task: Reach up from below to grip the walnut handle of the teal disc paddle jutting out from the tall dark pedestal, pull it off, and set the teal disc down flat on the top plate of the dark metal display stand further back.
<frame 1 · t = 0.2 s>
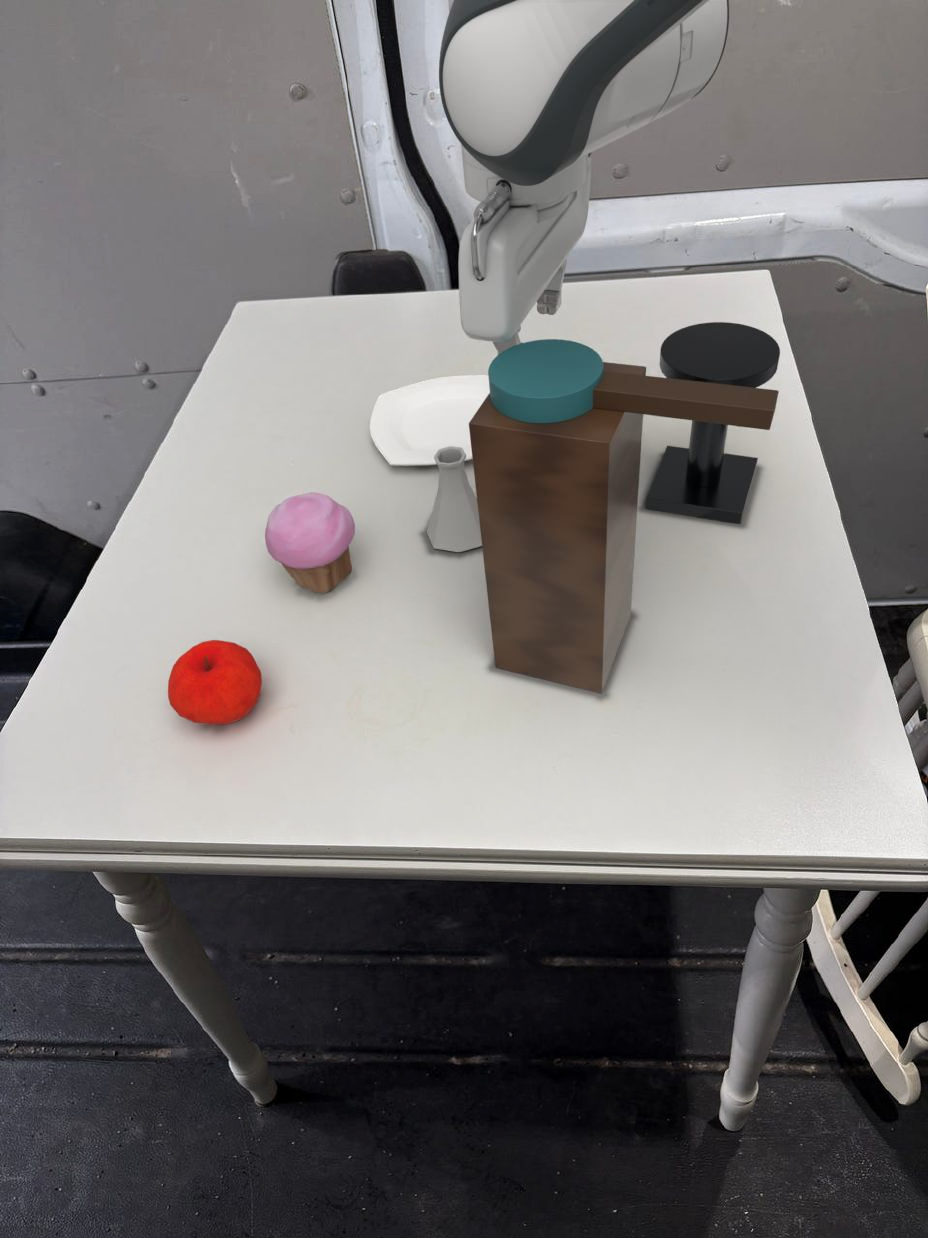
hand: (531, 337, 70), 24 cm above the table, tool pointing down, fingers open, 8 cm apart
apple: (229, 711, 76), on the table
cupcake: (323, 581, 87), on the table
pedestal: (564, 641, 78), on the table
plate: (448, 431, 105), on the table
flask: (460, 533, 90), on the table
disc paddle: (546, 392, 60), point 26 cm above the table, touching pedestal
display stand: (701, 488, 91), on the table
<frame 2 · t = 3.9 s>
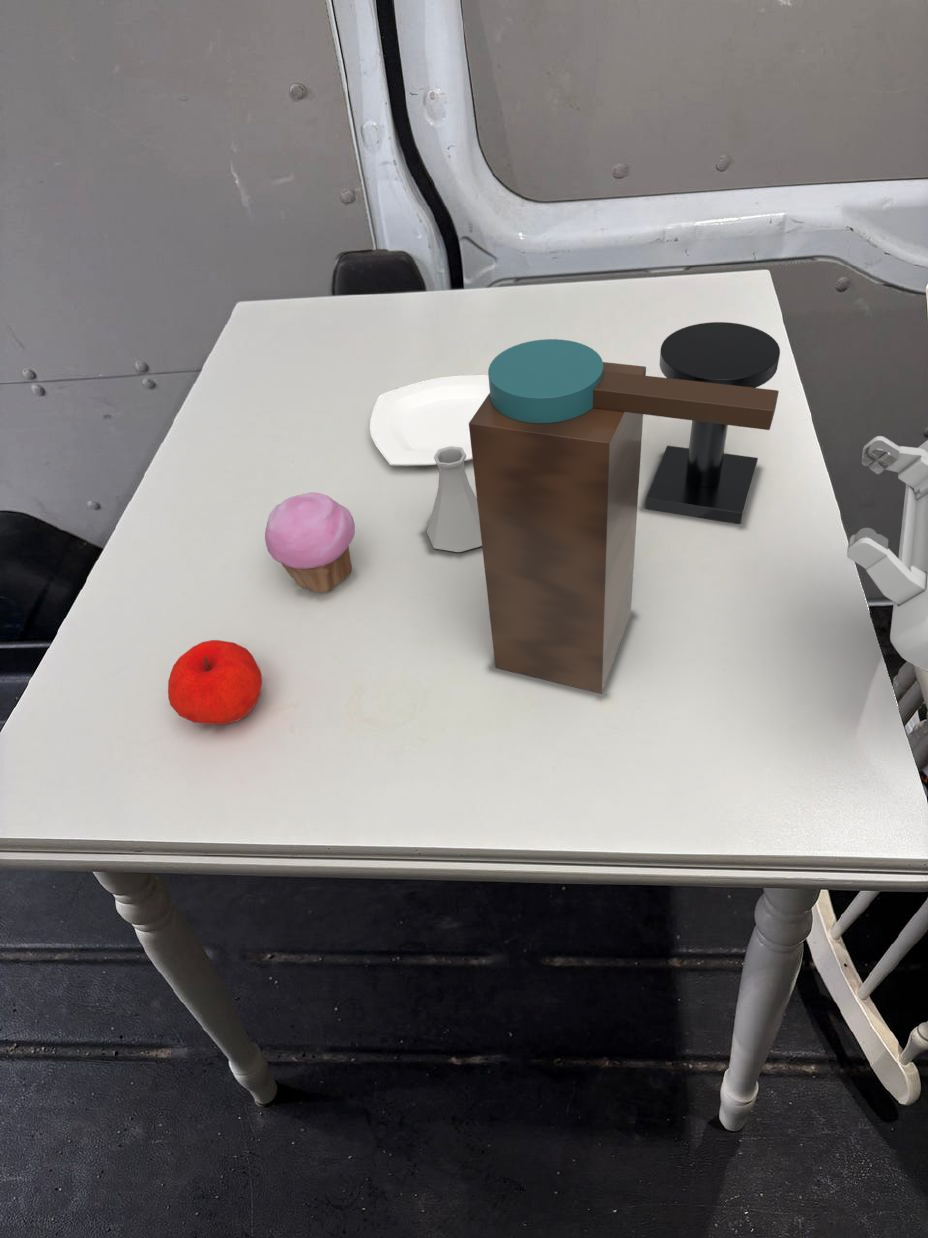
hand: (861, 491, 56), 21 cm above the table, tool pointing upward, fingers open, 8 cm apart
nothing on the table moved.
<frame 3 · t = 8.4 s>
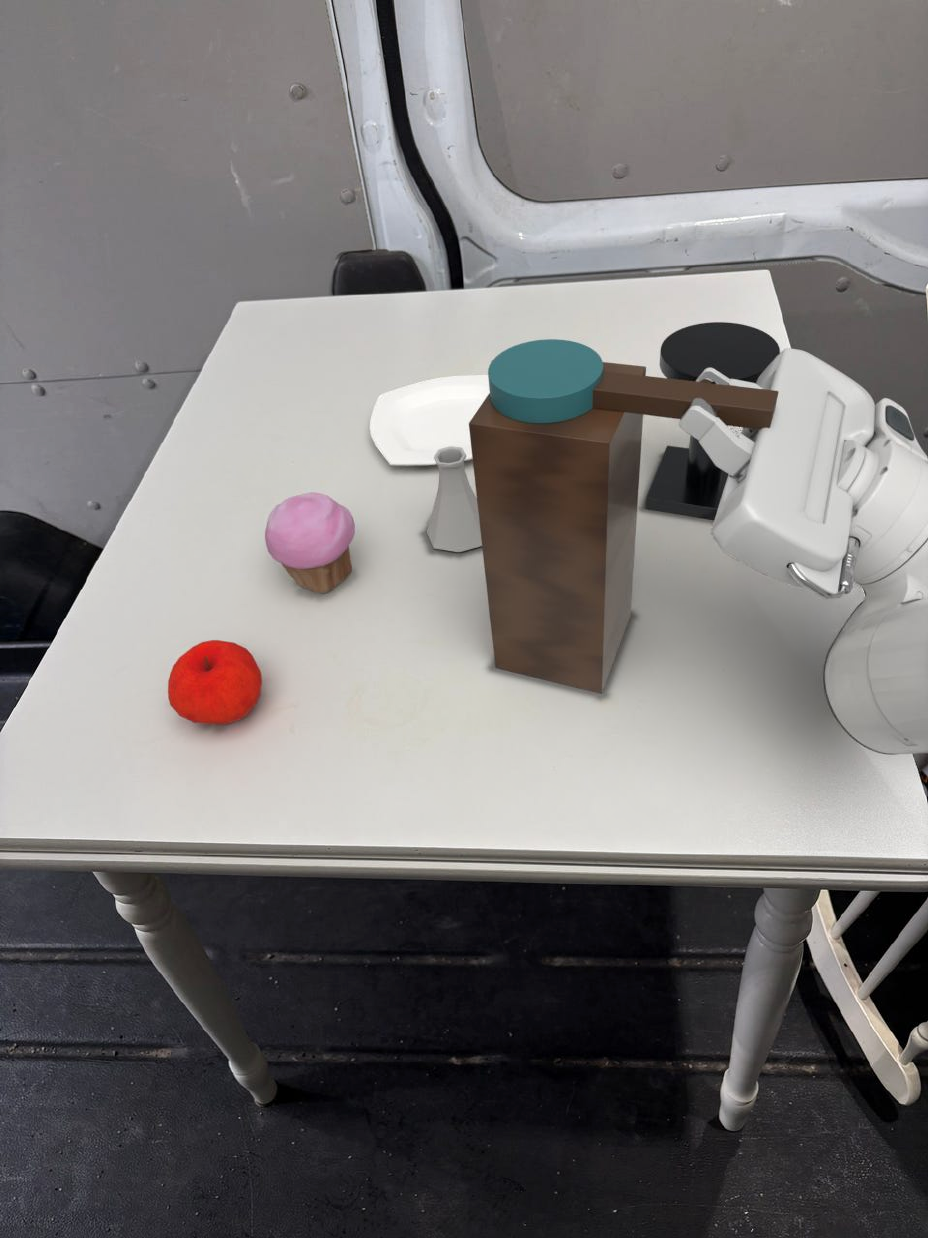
hand: (692, 394, 55), 27 cm above the table, tool pointing upward, fingers closed on disc paddle, 2 cm apart
disc paddle: (545, 392, 60), point 26 cm above the table, touching gripper, pedestal
everything else where it was.
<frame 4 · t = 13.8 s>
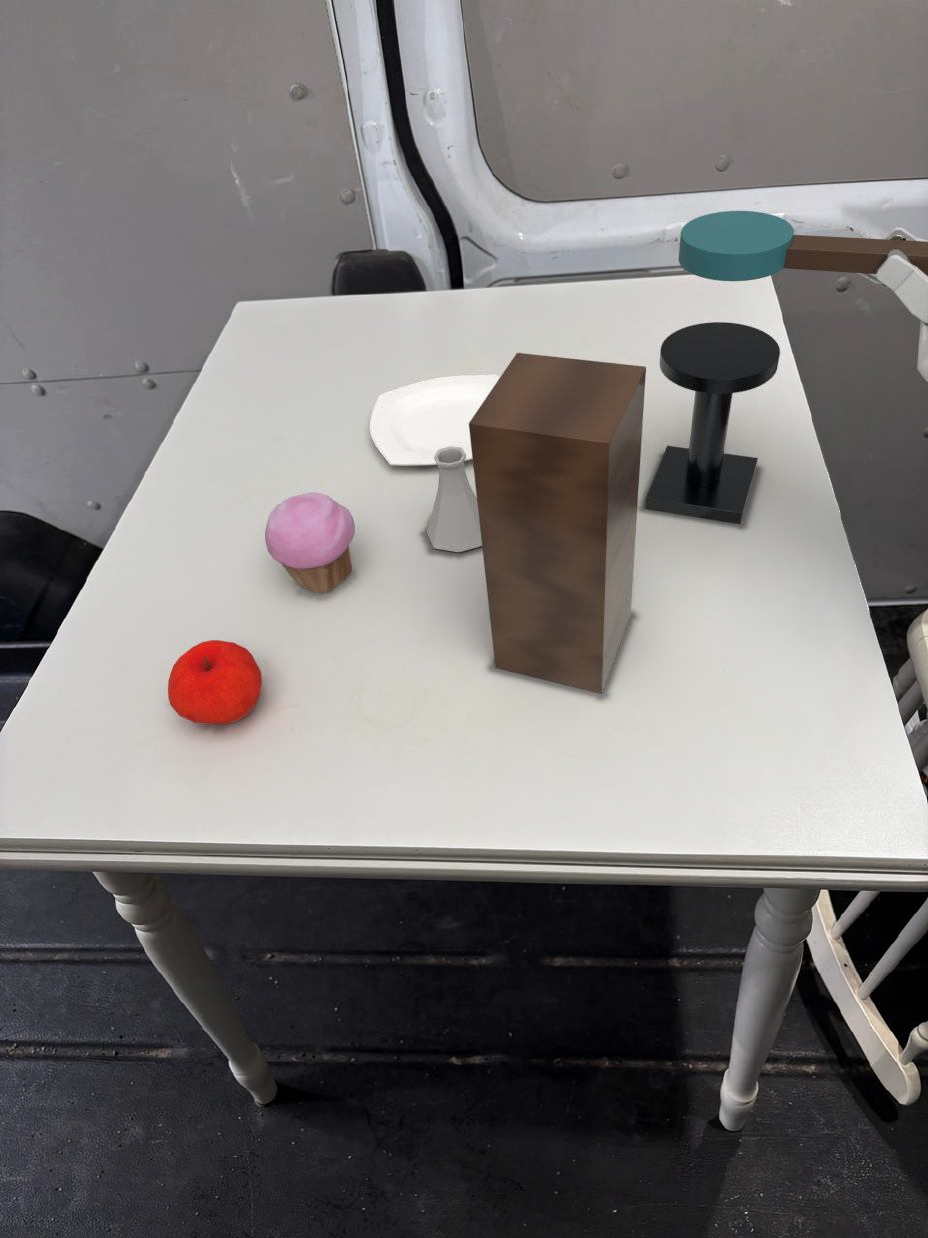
hand: (885, 249, 59), 31 cm above the table, tool pointing upward, fingers closed on disc paddle, 2 cm apart
disc paddle: (733, 258, 63), point 30 cm above the table, touching gripper
everything else where it was.
when the fingers open (18 cm above the table, at t = 19.2 s): disc paddle stays where it is, resting on display stand.
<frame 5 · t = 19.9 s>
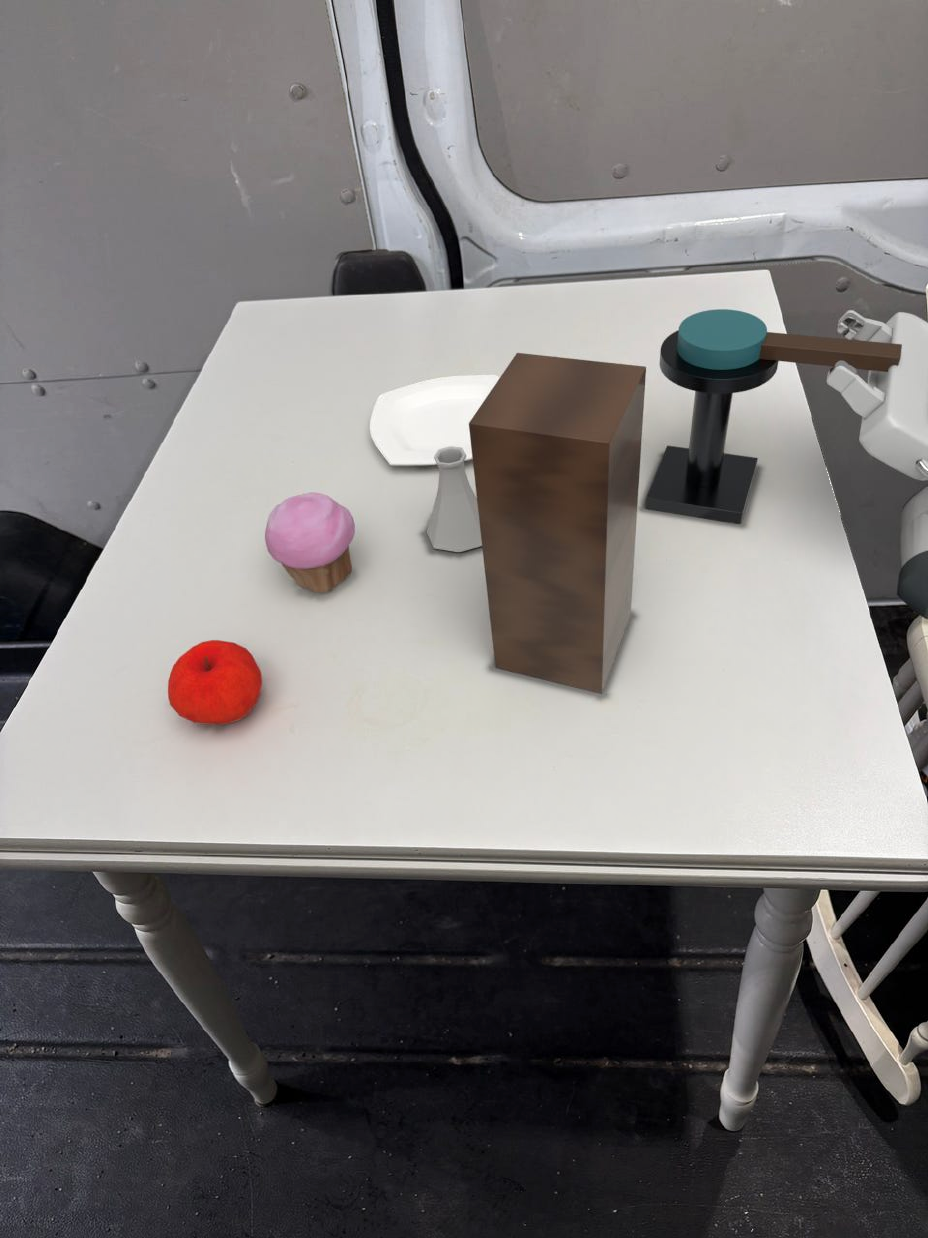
hand: (837, 343, 75), 18 cm above the table, tool pointing upward, fingers open, 8 cm apart
disc paddle: (719, 348, 80), point 17 cm above the table, touching display stand
everything else where it was.
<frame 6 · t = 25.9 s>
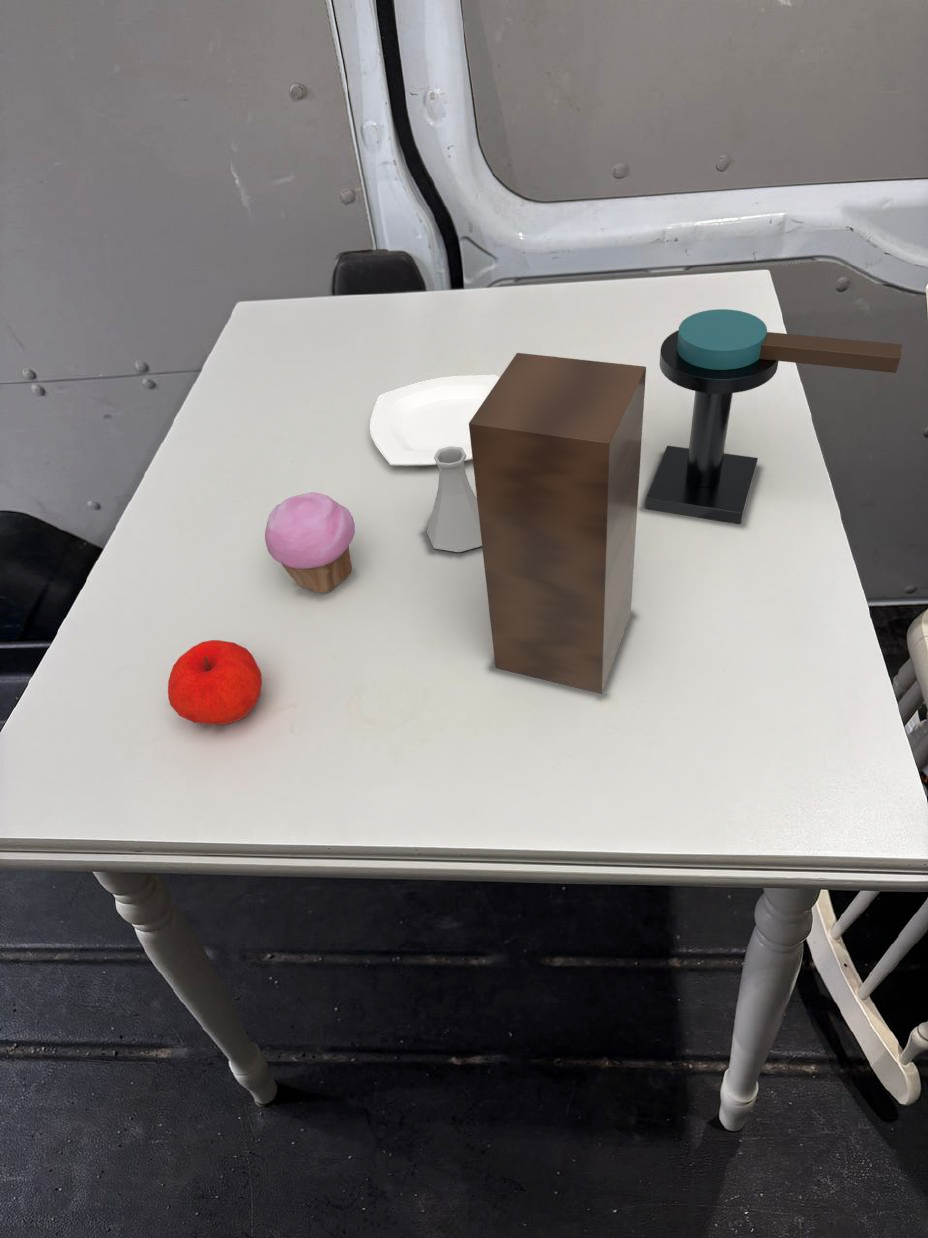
nothing on the table moved.
at the end: disc paddle 0.1 cm off-centre on the display stand, point 16.5 cm above the display stand's base; disc paddle tilted 0°; the gripper is holding nothing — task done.
